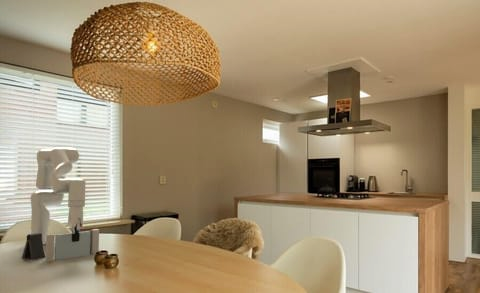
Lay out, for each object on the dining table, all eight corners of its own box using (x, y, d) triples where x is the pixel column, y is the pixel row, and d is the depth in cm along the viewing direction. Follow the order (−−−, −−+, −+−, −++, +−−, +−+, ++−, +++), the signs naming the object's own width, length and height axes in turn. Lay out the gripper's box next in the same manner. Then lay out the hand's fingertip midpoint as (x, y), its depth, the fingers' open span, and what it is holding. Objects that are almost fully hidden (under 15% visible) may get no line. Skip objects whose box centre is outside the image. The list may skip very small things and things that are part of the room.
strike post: (45, 260, 161) (46, 234, 162) (52, 259, 163) (53, 233, 164) (46, 261, 159) (47, 235, 159) (53, 260, 160) (54, 234, 161)
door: (90, 253, 174) (91, 229, 174) (91, 254, 172) (92, 229, 173) (54, 259, 163) (55, 233, 164) (55, 260, 162) (56, 233, 162)
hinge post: (90, 253, 174) (91, 229, 175) (96, 252, 176) (97, 228, 177) (92, 254, 172) (93, 230, 173) (98, 253, 174) (99, 229, 175)
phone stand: (21, 258, 165) (23, 233, 166) (33, 255, 170) (34, 231, 171) (33, 260, 161) (34, 235, 162) (45, 257, 167) (46, 233, 167)
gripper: (64, 203, 168) (63, 240, 166) (72, 205, 156) (70, 244, 155) (80, 202, 172) (79, 238, 171) (88, 204, 161) (87, 242, 159)
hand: (75, 241), depth 163 cm, fingers closed
